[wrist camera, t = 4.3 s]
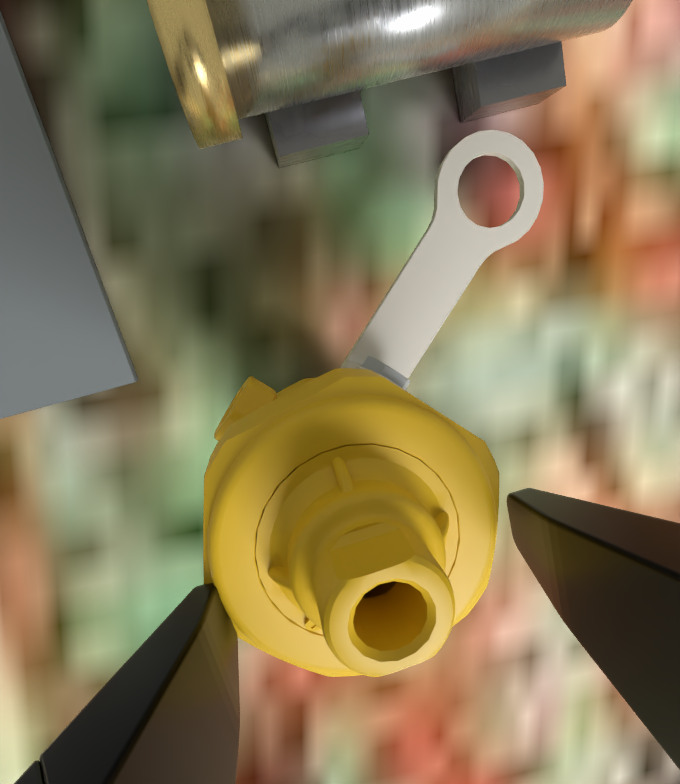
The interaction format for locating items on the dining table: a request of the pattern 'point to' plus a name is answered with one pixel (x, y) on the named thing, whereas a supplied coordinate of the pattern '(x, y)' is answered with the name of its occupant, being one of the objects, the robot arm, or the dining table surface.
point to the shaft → (359, 60)
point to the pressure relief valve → (365, 472)
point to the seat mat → (46, 269)
